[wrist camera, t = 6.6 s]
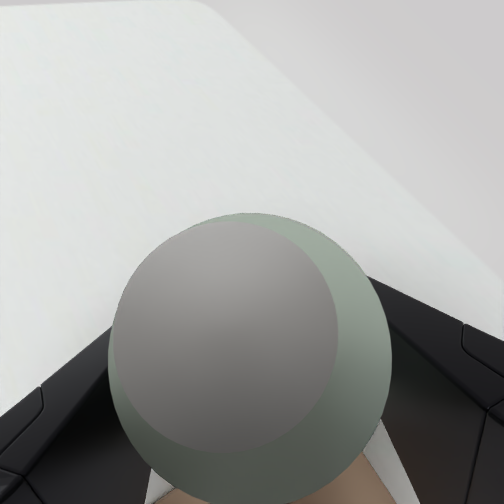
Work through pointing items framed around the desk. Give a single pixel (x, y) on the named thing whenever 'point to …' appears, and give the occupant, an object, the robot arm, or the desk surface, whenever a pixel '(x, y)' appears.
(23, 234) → the desk surface
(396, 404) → the robot arm
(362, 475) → the walnut board
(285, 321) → the sage bottle
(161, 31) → the desk surface
